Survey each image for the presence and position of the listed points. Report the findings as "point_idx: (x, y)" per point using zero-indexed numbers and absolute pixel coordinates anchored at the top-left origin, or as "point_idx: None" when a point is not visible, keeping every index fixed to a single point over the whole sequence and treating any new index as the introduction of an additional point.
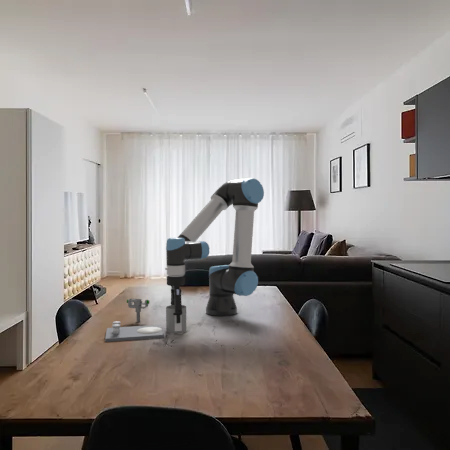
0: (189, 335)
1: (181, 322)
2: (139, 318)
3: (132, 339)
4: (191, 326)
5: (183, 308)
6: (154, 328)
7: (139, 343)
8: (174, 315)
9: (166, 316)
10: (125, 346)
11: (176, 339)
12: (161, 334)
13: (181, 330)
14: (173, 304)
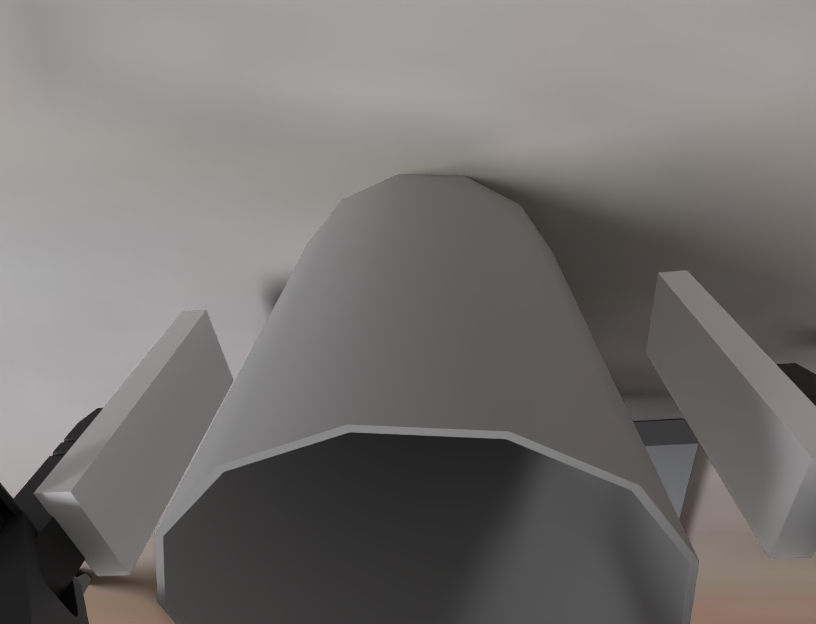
0: (704, 137)
1: (752, 344)
2: None
3: None
4: (190, 89)
5: (648, 494)
6: None
7: (765, 562)
8: (620, 513)
9: (466, 556)
10: (793, 620)
11: (813, 304)
12: (673, 459)
13: (687, 275)
14: (72, 621)
